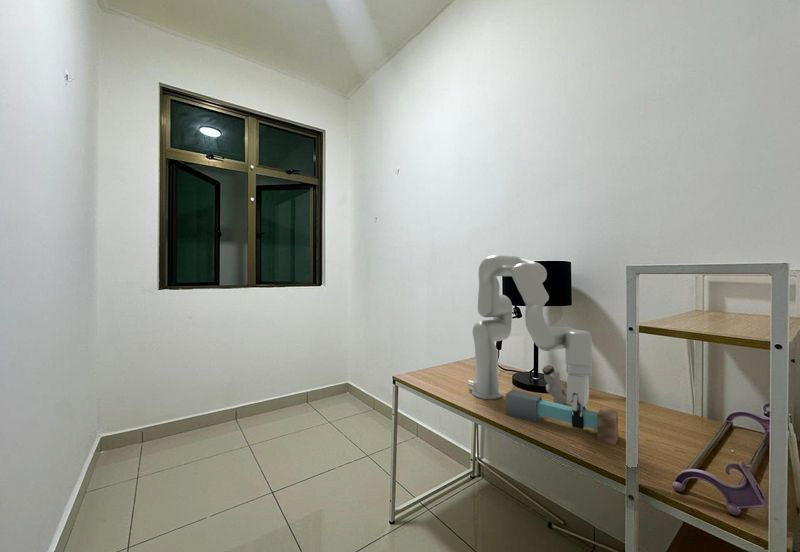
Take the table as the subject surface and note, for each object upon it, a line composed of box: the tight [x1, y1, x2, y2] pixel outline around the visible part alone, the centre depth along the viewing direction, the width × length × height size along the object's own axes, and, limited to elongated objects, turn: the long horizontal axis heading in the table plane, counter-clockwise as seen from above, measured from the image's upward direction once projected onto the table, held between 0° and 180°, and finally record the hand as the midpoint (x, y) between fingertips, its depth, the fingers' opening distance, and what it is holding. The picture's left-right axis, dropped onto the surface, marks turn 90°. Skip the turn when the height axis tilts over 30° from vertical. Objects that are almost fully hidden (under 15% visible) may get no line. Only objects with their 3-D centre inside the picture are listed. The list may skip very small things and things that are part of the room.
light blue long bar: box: [537, 399, 599, 431], centre depth 106 cm, size 24×4×4 cm, turn 50°
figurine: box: [542, 365, 567, 405], centre depth 126 cm, size 9×10×15 cm
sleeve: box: [505, 389, 543, 424], centre depth 115 cm, size 11×6×8 cm, turn 50°
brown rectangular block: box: [596, 407, 619, 446], centre depth 99 cm, size 4×7×8 cm, turn 140°
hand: (579, 424), depth 104 cm, fingers closed on light blue long bar, 4 cm apart
